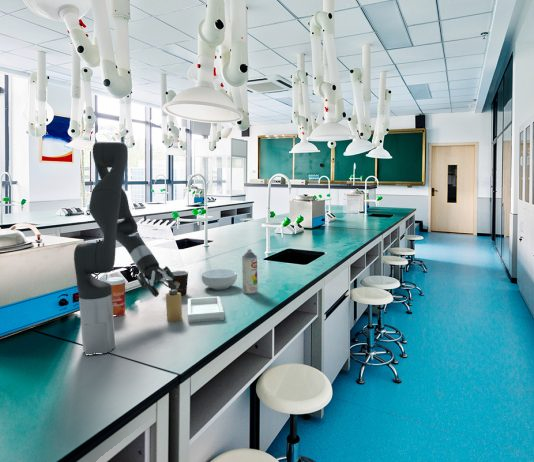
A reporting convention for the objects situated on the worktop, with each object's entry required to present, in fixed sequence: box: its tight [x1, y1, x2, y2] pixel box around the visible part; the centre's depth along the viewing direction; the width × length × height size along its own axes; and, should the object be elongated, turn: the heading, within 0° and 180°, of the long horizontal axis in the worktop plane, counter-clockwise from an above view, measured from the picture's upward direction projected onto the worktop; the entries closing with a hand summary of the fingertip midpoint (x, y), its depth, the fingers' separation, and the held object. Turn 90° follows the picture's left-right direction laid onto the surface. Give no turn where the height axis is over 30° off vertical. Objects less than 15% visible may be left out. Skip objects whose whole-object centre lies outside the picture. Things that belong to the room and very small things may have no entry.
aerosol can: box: [241, 248, 259, 296], centre depth 181 cm, size 7×7×20 cm
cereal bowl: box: [201, 268, 238, 291], centre depth 191 cm, size 17×17×7 cm
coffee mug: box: [161, 270, 189, 298], centre depth 180 cm, size 12×9×10 cm
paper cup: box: [105, 276, 127, 316], centre depth 154 cm, size 8×8×14 cm
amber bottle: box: [165, 289, 183, 323], centre depth 148 cm, size 6×6×11 cm
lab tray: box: [187, 296, 225, 323], centre depth 156 cm, size 20×13×3 cm, turn 11°
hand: (166, 292), depth 150 cm, fingers open, 8 cm apart
